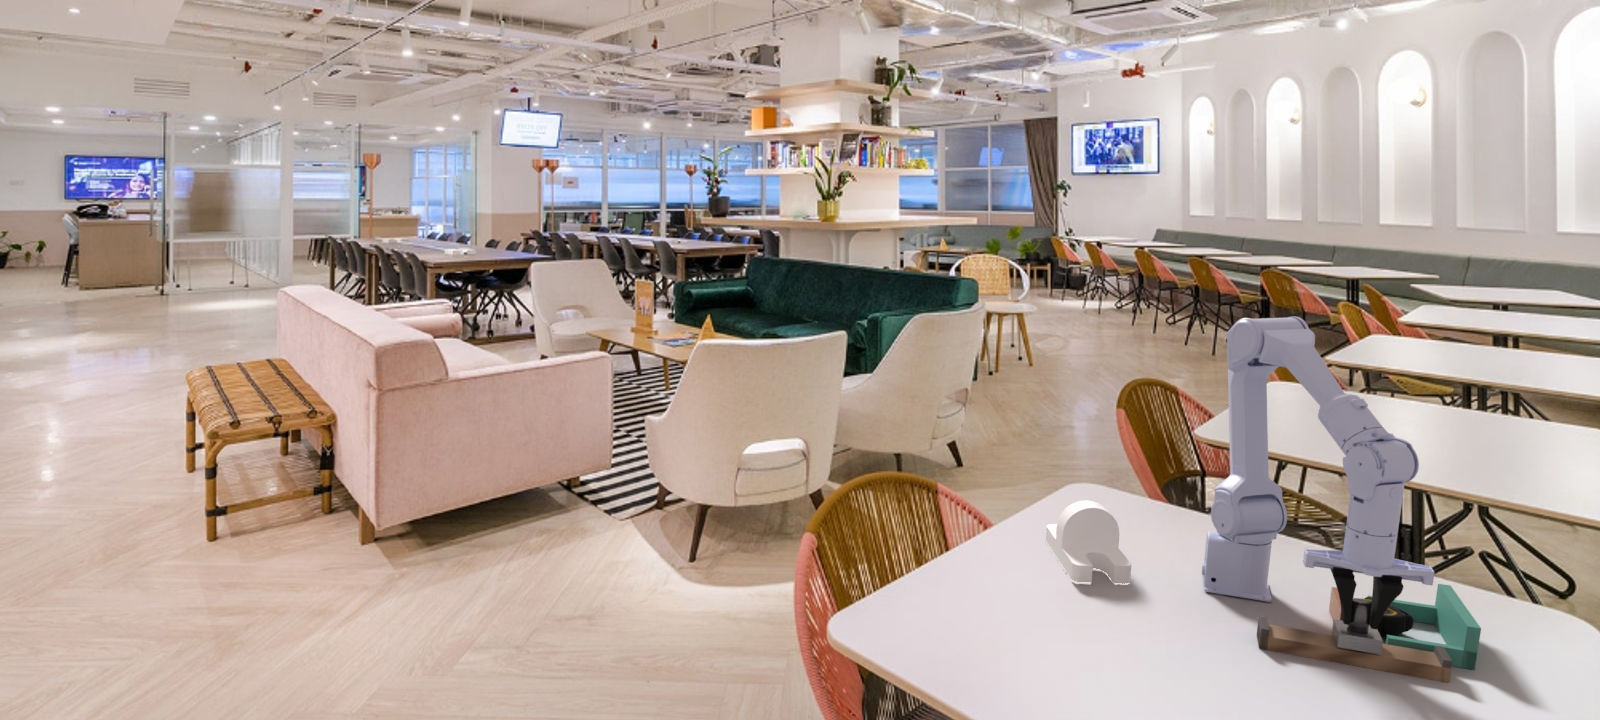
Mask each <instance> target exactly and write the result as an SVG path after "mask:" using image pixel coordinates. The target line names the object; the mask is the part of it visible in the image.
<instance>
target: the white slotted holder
mask: <svg viewBox="0 0 1600 720" xmlns="http://www.w3.org/2000/svg"><path fill="white" fill-rule="evenodd" d="M1045 528H1046V529H1045V530H1046V531H1045V542H1046V541H1047V543H1048V544H1049V546H1050V547H1051V549H1052V550H1053V552H1054V553H1055V555H1056V556H1057V558H1058V559H1059V561H1060V562H1061V564H1062V565H1063V567H1064V568H1065V570H1066V572H1067V573H1068V574H1069V576H1070V578H1071V579H1072V580H1074V581H1077V582H1093V581H1092V580H1093V571H1092V570H1093V568H1096V569H1100V570H1102V571H1104V572H1106V573H1107V574H1108V576H1109V577H1110V578H1111V580H1112V581H1113V582H1114V583H1122V584H1123V583H1124V584H1125V583H1130V584H1131V578H1132V577H1131V576H1132V562H1131V561H1130V560H1129V559H1128V557H1126V555H1125V554H1124V553H1123V551H1121V549H1120V548H1119V545H1120V527H1119V525H1118V522H1117V520H1116V518H1115V517H1114V516H1113V515H1112V514H1111V513H1110V511H1108V509H1107V508H1106V507H1105V506H1103V505H1102V504H1101V503H1098V502H1097V501H1093V500H1087V499H1086V500H1077V501H1076V502H1073V503H1071V504H1070V505H1068V506H1066V507H1065V509H1063V510H1062V512H1061V513H1060V514H1059V517H1058V519H1057V522H1056V523H1049V524H1047V525H1046V527H1045Z"/></svg>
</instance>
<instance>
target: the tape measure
mask: <svg viewBox="0 0 1600 720" xmlns="http://www.w3.org/2000/svg"><path fill="white" fill-rule="evenodd" d="M1363 599H1364V600H1367V601H1369V602H1370V603H1371V601H1372V597H1368V596H1366V597H1364V598H1363ZM1414 623H1415V621H1414V619H1413V617H1412V616H1411V615H1410V614H1408V613H1406V612H1404V611H1402V610H1400V609H1398V608H1396V607H1394V606H1391V605H1390V606H1389V607H1388V608H1387V610H1386V611H1385V613H1384V615H1383V617H1382V619H1381V621H1380V623H1379V626H1378V629H1377V630H1378V632H1379V634H1380V636H1381V637H1387V635H1392V636H1398V637H1400V635H1403V633H1407V632H1408V631H1410V630H1412V629H1413V627H1414Z"/></svg>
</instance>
